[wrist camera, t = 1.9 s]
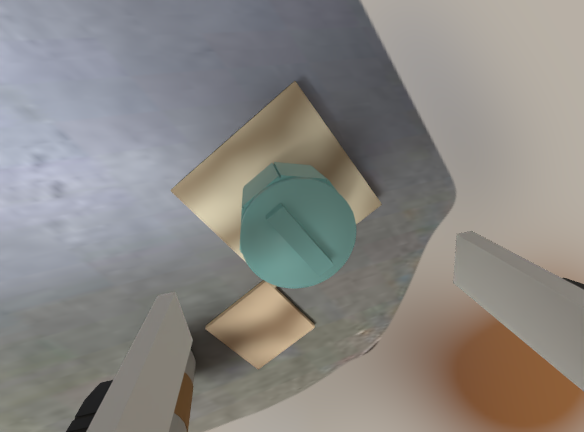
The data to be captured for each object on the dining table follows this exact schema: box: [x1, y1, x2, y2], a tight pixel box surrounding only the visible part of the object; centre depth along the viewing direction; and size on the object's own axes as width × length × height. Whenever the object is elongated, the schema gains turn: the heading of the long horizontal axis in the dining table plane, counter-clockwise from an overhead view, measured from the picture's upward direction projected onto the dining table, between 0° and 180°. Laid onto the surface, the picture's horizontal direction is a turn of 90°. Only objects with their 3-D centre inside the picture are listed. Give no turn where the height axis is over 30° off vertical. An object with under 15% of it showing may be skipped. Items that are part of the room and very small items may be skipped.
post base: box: [170, 81, 382, 288], centre depth 23 cm, size 14×14×10 cm
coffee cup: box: [169, 350, 196, 432], centre depth 26 cm, size 8×8×15 cm
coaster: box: [205, 280, 315, 369], centre depth 33 cm, size 9×9×1 cm
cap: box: [239, 162, 356, 288], centre depth 20 cm, size 7×7×7 cm
